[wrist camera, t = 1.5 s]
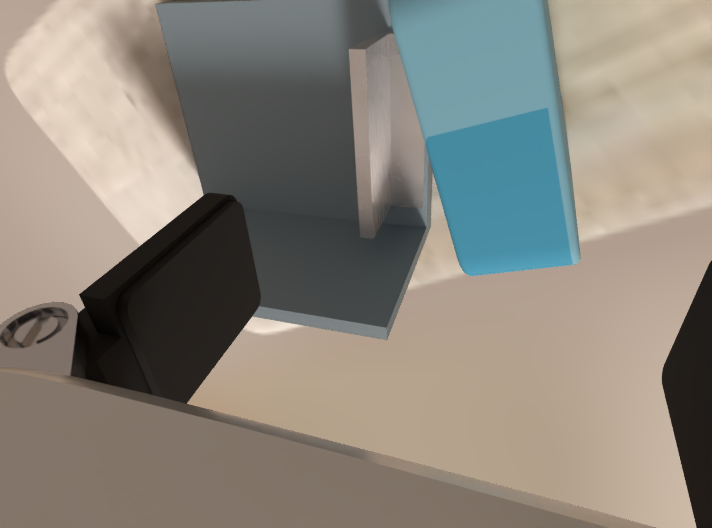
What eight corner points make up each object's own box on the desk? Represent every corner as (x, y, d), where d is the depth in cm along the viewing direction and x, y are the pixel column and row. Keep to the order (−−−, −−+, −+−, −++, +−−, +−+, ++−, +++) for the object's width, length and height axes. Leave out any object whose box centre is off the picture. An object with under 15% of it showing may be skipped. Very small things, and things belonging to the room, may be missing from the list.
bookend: (428, 32, 25) (408, 49, 21) (424, 206, 30) (407, 242, 27) (375, 32, 26) (348, 49, 22) (381, 202, 31) (360, 237, 28)
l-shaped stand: (438, -9, 25) (378, 26, 16) (430, 227, 33) (386, 340, 24) (170, 0, 30) (7, 31, 21) (219, 205, 37) (116, 292, 28)
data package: (441, -41, 24) (376, -22, 15) (536, -79, 22) (529, -86, 13) (490, 177, 30) (465, 292, 20) (570, 161, 28) (583, 280, 18)
